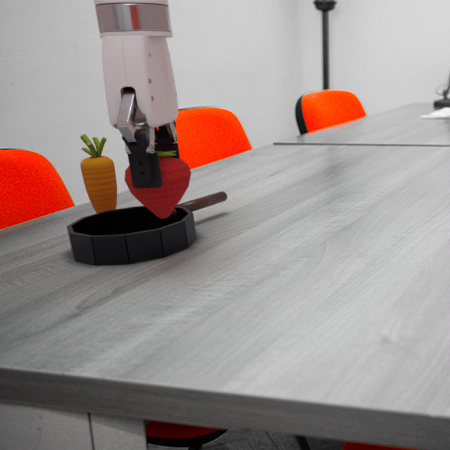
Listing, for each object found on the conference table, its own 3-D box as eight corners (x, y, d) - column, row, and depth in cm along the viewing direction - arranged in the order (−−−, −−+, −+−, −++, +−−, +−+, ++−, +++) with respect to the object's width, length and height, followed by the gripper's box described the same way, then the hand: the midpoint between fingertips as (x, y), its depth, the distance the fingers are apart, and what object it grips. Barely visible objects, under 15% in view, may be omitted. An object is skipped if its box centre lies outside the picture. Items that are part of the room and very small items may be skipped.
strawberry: (202, 218, 70) (191, 136, 67) (136, 229, 66) (122, 143, 63) (190, 208, 75) (179, 131, 72) (127, 218, 71) (113, 137, 68)
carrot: (131, 223, 95) (115, 132, 91) (103, 231, 91) (85, 136, 87) (112, 219, 98) (97, 131, 93) (84, 227, 94) (67, 135, 89)
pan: (127, 271, 73) (121, 241, 72) (47, 255, 80) (41, 227, 79) (264, 217, 96) (262, 194, 95) (193, 209, 103) (190, 186, 102)
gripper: (131, 28, 72) (152, 169, 77) (61, 20, 55) (95, 199, 60) (191, 27, 72) (209, 166, 77) (140, 18, 56) (167, 196, 61)
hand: (158, 179), depth 69 cm, fingers closed on strawberry, 6 cm apart
